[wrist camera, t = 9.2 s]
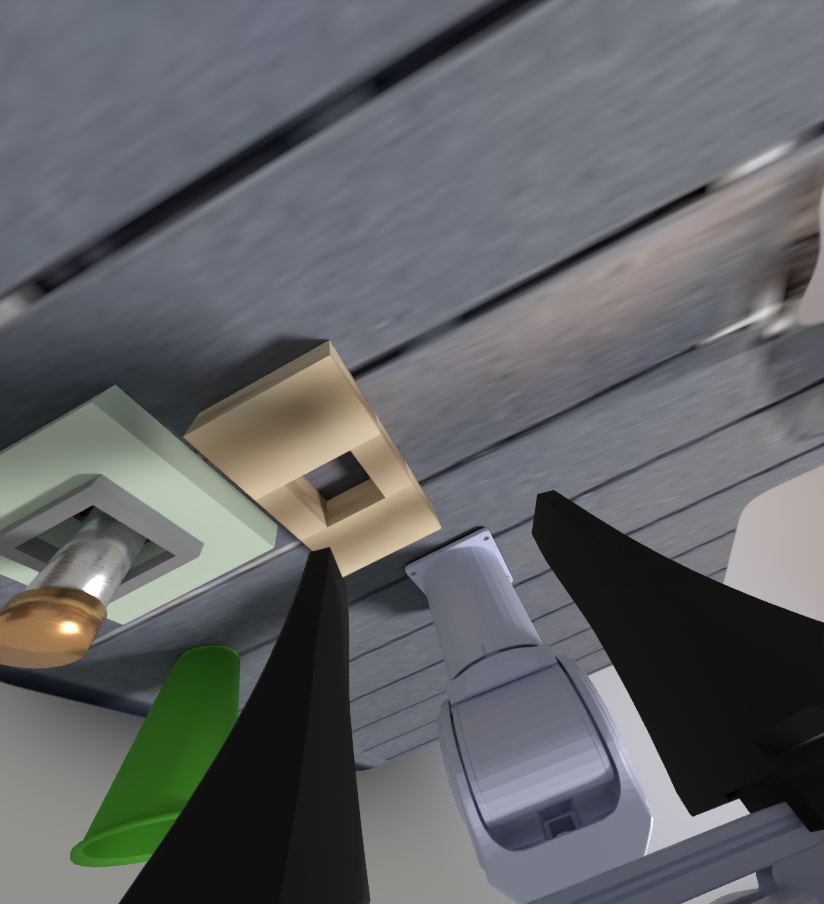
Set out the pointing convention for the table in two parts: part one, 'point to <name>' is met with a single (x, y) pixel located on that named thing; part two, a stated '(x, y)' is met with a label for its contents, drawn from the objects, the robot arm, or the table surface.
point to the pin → (68, 595)
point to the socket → (125, 502)
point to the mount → (316, 459)
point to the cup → (166, 758)
